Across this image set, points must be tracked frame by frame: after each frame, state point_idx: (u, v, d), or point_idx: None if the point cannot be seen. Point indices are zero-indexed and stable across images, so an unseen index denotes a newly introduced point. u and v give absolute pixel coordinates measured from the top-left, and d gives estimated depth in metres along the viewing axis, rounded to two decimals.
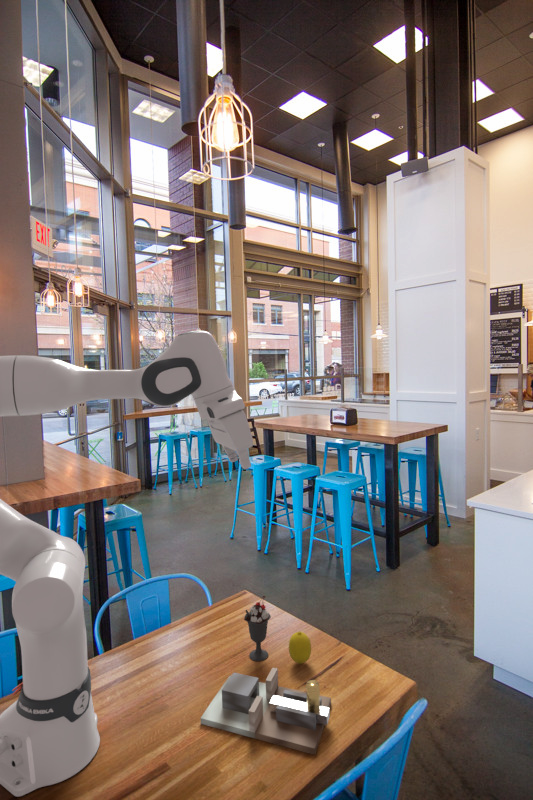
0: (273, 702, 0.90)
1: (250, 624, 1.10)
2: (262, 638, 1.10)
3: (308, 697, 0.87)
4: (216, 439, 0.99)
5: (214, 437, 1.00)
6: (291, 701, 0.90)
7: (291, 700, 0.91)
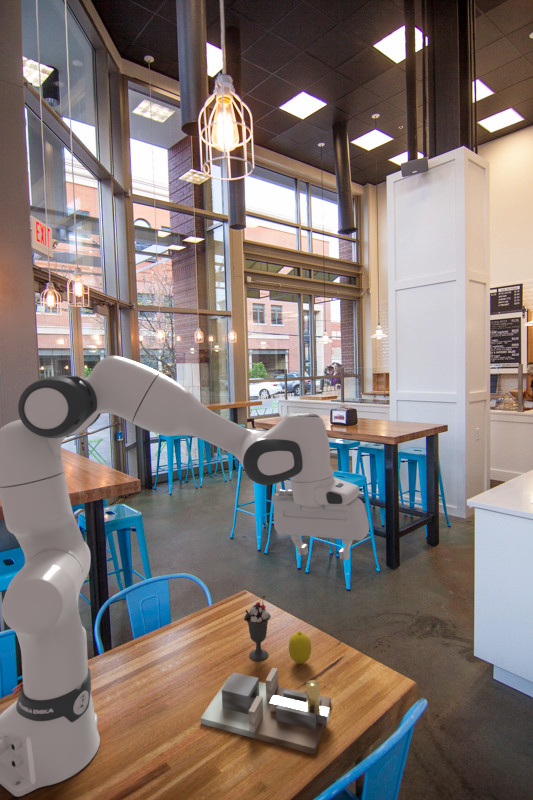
0: (273, 702, 0.90)
1: (250, 624, 1.10)
2: (262, 638, 1.10)
3: (308, 697, 0.87)
4: (288, 529, 0.91)
5: (282, 527, 0.92)
6: (291, 701, 0.90)
7: (291, 700, 0.91)
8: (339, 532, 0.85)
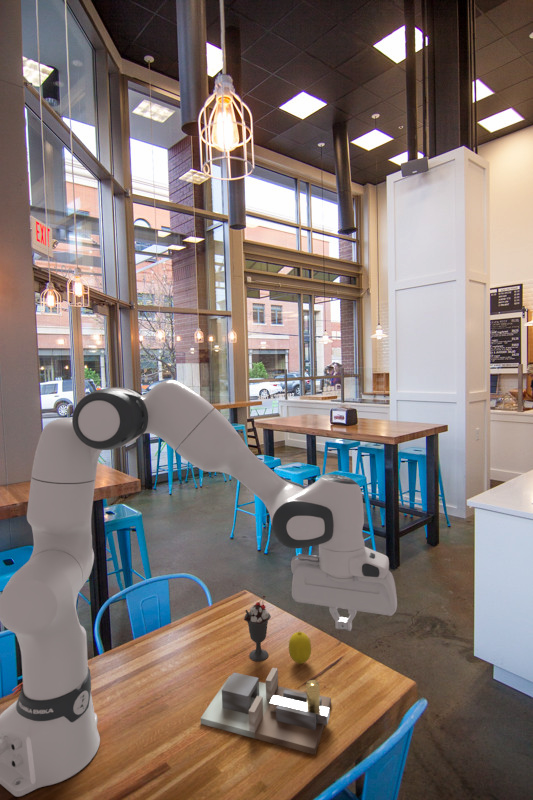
0: (273, 702, 0.90)
1: (250, 624, 1.10)
2: (262, 638, 1.10)
3: (308, 697, 0.87)
4: (309, 598, 0.86)
5: (302, 595, 0.86)
6: (291, 701, 0.90)
7: (291, 700, 0.91)
8: (369, 605, 0.82)
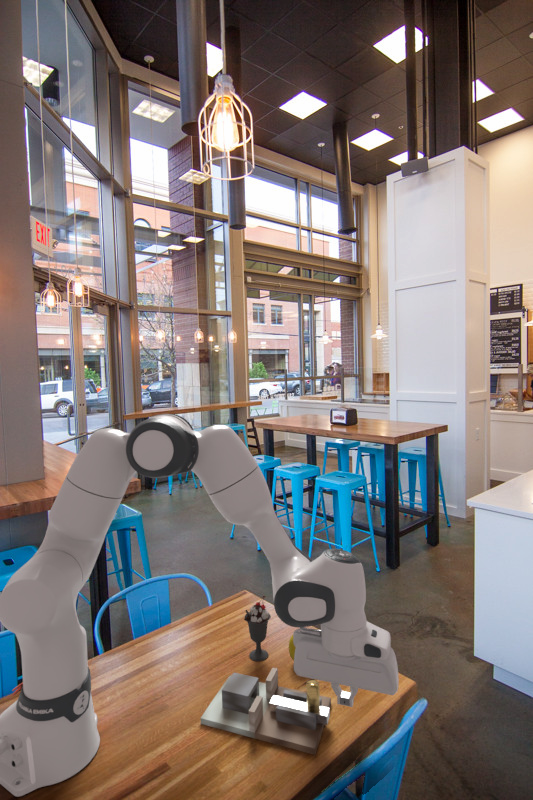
0: (273, 702, 0.90)
1: (250, 624, 1.10)
2: (262, 638, 1.10)
3: (308, 697, 0.87)
4: (311, 673, 0.86)
5: (304, 670, 0.87)
6: (291, 701, 0.90)
7: (291, 700, 0.91)
8: (370, 684, 0.82)
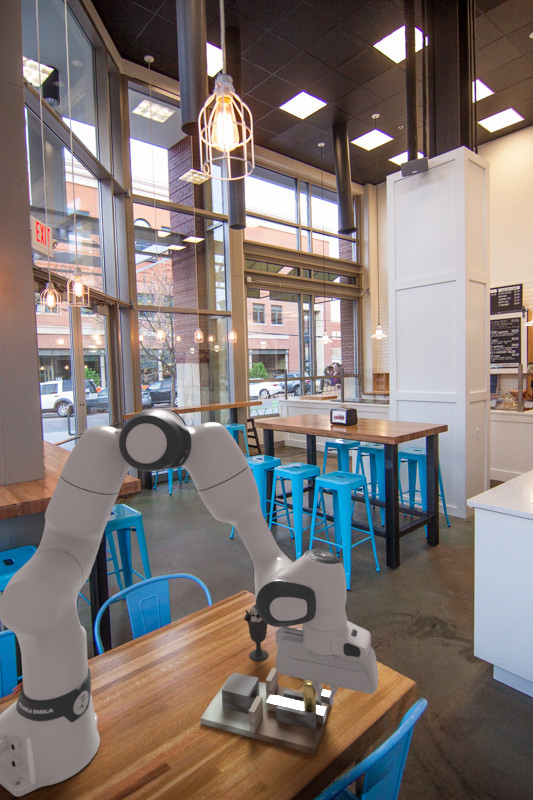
0: (270, 701, 0.90)
1: (250, 624, 1.10)
2: (262, 638, 1.10)
3: (305, 696, 0.88)
4: (292, 672, 0.87)
5: (285, 669, 0.88)
6: (288, 700, 0.91)
7: (288, 699, 0.91)
8: (350, 683, 0.83)
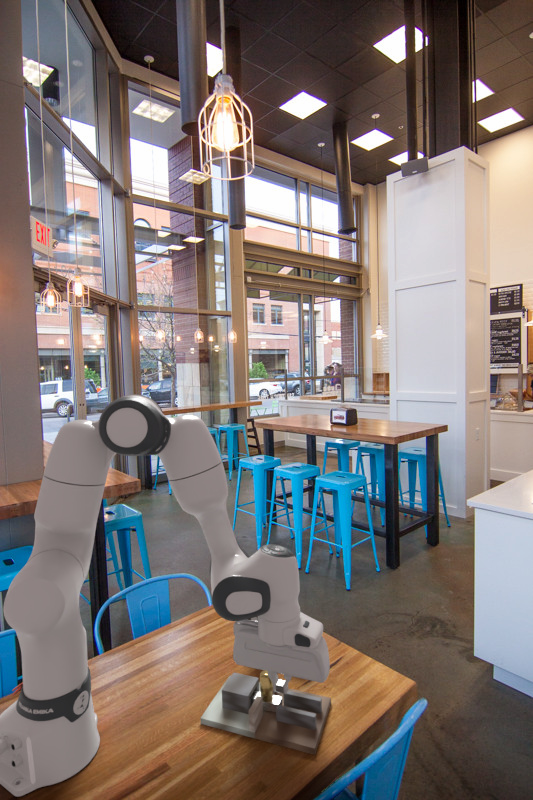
0: None
1: None
2: None
3: (261, 686, 0.91)
4: (248, 662, 0.91)
5: (242, 659, 0.91)
6: None
7: None
8: (302, 672, 0.87)
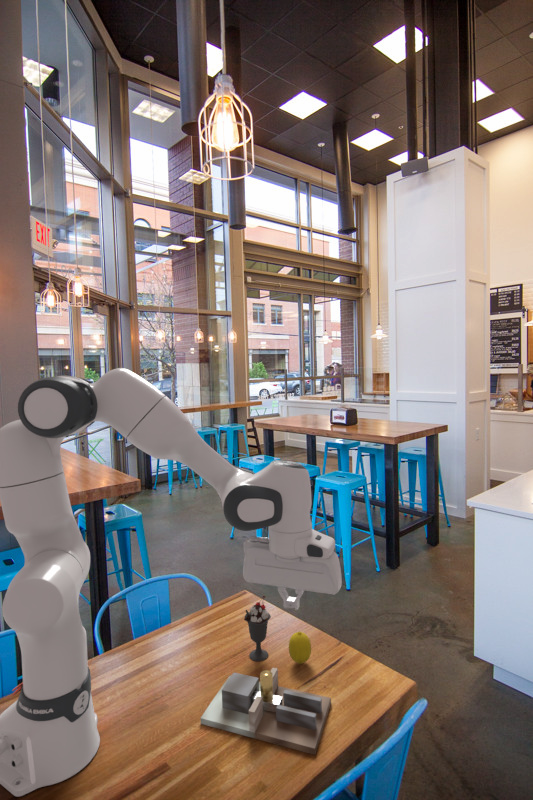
0: None
1: (250, 624, 1.10)
2: (262, 638, 1.10)
3: (261, 686, 0.91)
4: (259, 578, 0.89)
5: (252, 576, 0.90)
6: None
7: None
8: (313, 585, 0.85)
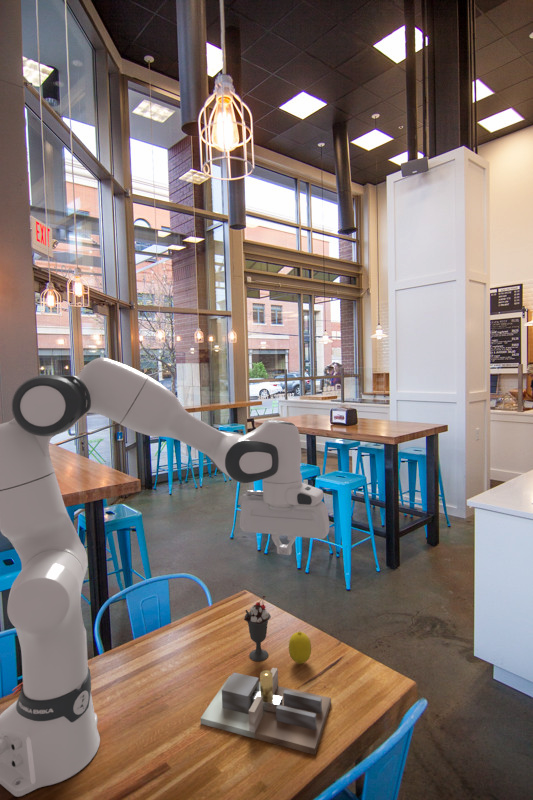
0: None
1: (250, 624, 1.10)
2: (262, 638, 1.10)
3: (261, 686, 0.91)
4: (254, 527, 0.98)
5: (248, 525, 0.99)
6: None
7: None
8: (304, 531, 0.94)
